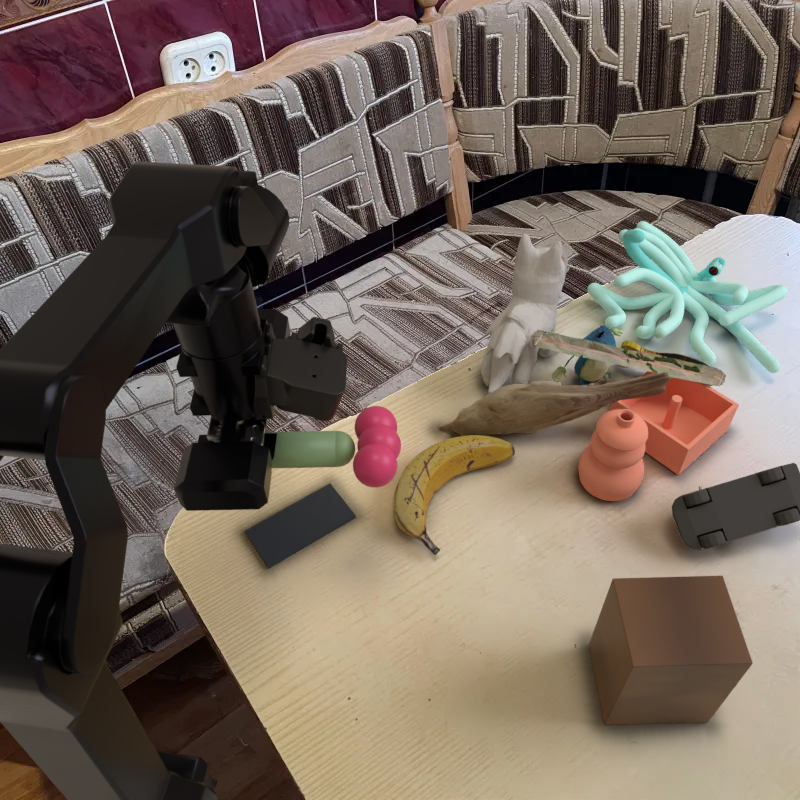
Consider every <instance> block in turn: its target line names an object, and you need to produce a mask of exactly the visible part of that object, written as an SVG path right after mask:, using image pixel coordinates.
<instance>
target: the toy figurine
mask: <svg viewBox="0 0 800 800" xmlns="http://www.w3.org/2000/svg"><path fill="white" fill-rule="evenodd" d="M623 334H624V332H623V331H622V330H621V329H618V328H613V329H609V328H608V327H606V325H604V324H600V325H599V327H597V328H596V329H594V330H593V331H591V332H590V333H588V334H587V335H586V336H585V337H583V338H582V339H586V340H590V341H594V342H598V343H603V344H607V345H611V346H615V347H617V343H616V339H615V336H616V337H622V335H623ZM574 357H575V356H573V355H571V357H570V358H569V359H567V361H566V363H565V364H564V366H558V367H557V368H556V369H555V370H554V371H553V373H552V375H551V381H554V382H559V380H560V378H561V377H562V376H563V377H567V369H566V367H567V366H568V364H569V363H570V361H572V360H573V358H574ZM609 368H610V363H607V362H602V361H598V360H593V359H588V358H583V357H582V356H581V357H578V358H577V360H576V362H575V363H574V367H573V369H574V373H575V374H576V376H577V377H578V378H579V382H578V383H579V384H580V386H581V385H589V384H591V383H595V382H598V381H599V380H603V379H606V378H610V377H611V375H612V373H609V372H608V370H609Z"/></svg>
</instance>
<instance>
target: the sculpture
mask: <svg viewBox="0 0 800 800" xmlns="http://www.w3.org/2000/svg"><path fill="white" fill-rule="evenodd" d="M670 380H671V377H670V376H669V375H668V373H667V372H663V373H659V374H652V375H648V376H644V377H640V376H639V377H634V378H629V379H624V380H619V381H614V380H613V379H611V378H610V377H609V378H606V379H603V380H599V381H595V382H592V383H591V384H589V385H581V384H580V385H577V384H562V382H561V381H557V382H555V381H554V380H533V381H529V382H530V383H528V384H513V383H512V384H507V385H503V386H502V387H500V388H498V389H496V390H495V391H493V392H492V393H490V394H487V395H485V396H484V397H481V398H479V399H478V400H475V402H474V403H472V404H470V405H469V406H467V407H465V408H462V409H461V410H459V412H458V414H457V416H456V418H455V419H453V420H452V421H451V422H448V423H443V424H440V425H438V429H444V430H445V429H446V430H451V431H453V432H455V433H456V434H458V435H459V436H468V435H483V436H487V435H510V434H516V433H523V434H532V433H536V432H538V431H540V430H544V429H546V428H549V427H554V426H557V425H560V424H564V423H567V422H571V421H574V420H577V419H579V418H581V417H584V416H587V415H590V414H592V413H594V412H596V411H598V410H600V409H602V408H604V407H607V406H610V405H611V404H612V403H614V402H617V401H619V400H626V399H634V398H642V397H649V396H655V395H660V394H662V393H664V392H665V391H666V388H665V385H666V384H667V383H668V382H669V381H670Z"/></svg>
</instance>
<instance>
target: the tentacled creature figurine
mask: <svg viewBox="0 0 800 800" xmlns="http://www.w3.org/2000/svg"><path fill="white" fill-rule="evenodd" d="M618 239H619V241H621V242H623V246H624V249H625V251H626V254H627V255H628V256H629V258H630V259H631V260H632V261H633V262H634V264H635V265H637V267H635V268H632V269H629V270H627V271H625V272H623V273H621V274H618V275H617V276H615V277H614V279H613V284H614V286H615V287H616V288H618V289H623V288H625V287H627V286H630V285H631V284H634V283H635V282H638V281H642V282H645V283H647V284H649V285H651V286H653V287H655V288H656V289H658V290H660V291H658V292H654V293H649V294H646V295H641V296H633V297H631V296H629V297H627V296H623V295H620V294H618V293H616V292H614V291H612V290H611V289H608V288H607V287H605V286H604V285H602V284H600V283H598V282H592V283H590V284H589V285H588V286H587V293H588V295H589V296H590V297H591V298H592V299H593V300H594V301H595V302H596V303H597V304H598V305H599V306H600V307H601V308H602V309H603V310H604V311H605V312H606V313H607V314H608V315H609V316H608V317H607V318H606V319H605V321H604V324H605V326H606V327H608V328H609V329H610V330H612V329H617V328H619V327H622V326H623V325H624V324H625V323H626V322H627V314H626V313H625V311H624V310H627V311H628V310H629V311H630V310H640V309H641V310H642V309H647V308H651V307H652V308H651V309H649V310H648V312H647V313H646V314H645V316H644V317H643V319H642V325H639V326H637V327H636V328H635V335H636V337H637V338H639V339H644V340H648V339H651V338H652V337H653V336H655V338H658V339H664V338H666V337H667V336H669V335H670V334H671V333H672V332H674V331H675V330H676V329H678V327H679V326H680V325H681V324H682V322H683V318H684V314H685V310H686V311H687V312H688V313H690V314H691V316H692V317H693V318H694V320H695V321H694V325H693V326H692V328H691V331H690V334H689V344H690V347H691V348H692V350H693V352H694V354H696V355H697V356H698V358H699V359H700V361H701V362H703V363H705V364H707V365H709V366H713V365H715V364H716V363H717V356H716V354H715V353H714V352H713V351H712V349H711V348H710V347H709V346H708V345H707V343H706V342H705V340H704V337H705V334H706V332H707V330H708V327H709V322H710V317H711V318H713V320H716V321H717V322H718V323H719V325H720V326H722V327H724V328H725V329H726V330H727V331H728V332H730V333H731V335H732V336H734V337H735V338H736V339H737V340H738V341H739V342H740V343H741V344H742V345H743V347H745V349H746V350H747V351H748V352H749V354H751V355H752V356H753V357H754V358H755V360H757V362H758V363H760V365H761V366H762V367H763V368H764V369H765V370H766V371H767V372H768V373H770V374H777V373H778V372H780V370H781V368H782V364H781V363H780V361H779V360H777V358H775V356H774V355H773V354H772V353H771V352H770V351H769V350H768V349H767V348H766V347H765V346H764V345H763V344H762V343H761V342H760V341H759V340H758V339H757V338H756V337H755V336H754V335H753V334H752V332H751V331H749V330H748V329H747V328H746V327H745V325H743V324H742V323H741V322H740V321H741V320H744V319H746V318H747V317H750V316H751V315H754V314H756V313H758V312H760V311H762V310H764V309H767V308H769V307H771V306H773V305H775V304H776V303H779V302H780V301H781V300H784V299H785V298H786V297H787V295H788V293H789V289H788V287H787V286H786V285H784V284H774V285H768V286H764V287H760V288H756V289H752V290H749V289H748V287H747V286H746V285H744V284H742V283H739V282H731V281H730V282H729V281H718V280H717V279H716V277H717V276H719V275H721V273H722V271H723V269H724V268H725V266H726V260H725V259H724V258H723V257H721V256H717V257H715V258H713V259H712V260H711V261H710V262H709V263H708V264H707V265H706V267H705V268H703V269H702V270H700V271H699V272H698V271H697V270H696V267H695V266H694V264H693V263H692V260H691V259H690V258H689V255H687V253H686V252H685V250H684V249H683V248H682V247H681V245H679V244H678V243H677V242H676V241H675V240H674V239H673V238H671V237H670V236H669V235H668V234H666V233H665V232H663V231H662V230H661V229H660V228H657V227H656V226H654V225H653V224H650V223H649V222H647V221H645V220H641V221H639V222H637V224H636V227H635V228H632V229H627V228H625V229H622V230H620V231H619V233H618ZM704 294H707V295H709V297H710V298H711V299H712V300H713V301H712V300H711V299H710V298H708V297H707V296H705V295H704ZM721 306H723V307H734V308H732V309H730V310H727V311H726V310H725V309H724V308H722V307H721ZM669 311H670V313H669V317H667V319H665V320H664V321H662V322H661V323H659V324H658V325H657V321H658V320H659V319H660V318H661V317H662V316H664V315H665V314H667V313H668V312H669ZM709 316H710V317H709Z"/></svg>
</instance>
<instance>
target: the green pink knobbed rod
mask: <svg viewBox="0 0 800 800" xmlns="http://www.w3.org/2000/svg"><path fill="white" fill-rule="evenodd" d="M397 432H398V422H397V419H396V417H395V415H394V413H392V412H391V410H389V409H388V408H386V407H384V406H381V405H372V406H368V407H366V408H364V409H363V410H362V411H360V412H359V414H358V415H357V417H356V419H355V421H354V434H355V436H356V438H357V443H356V444H357V447H356V444H355V441H354V439H353V438H352V436H351V435H349V434H348V433H346V432H345V431H342V430H307V431H306V430H305V431H303V430H302V431H266V432H265V433H277V440H276V447H275V455H274V459H273V461H272V469H307V468H308V469H309V468H310V469H311V468H340V467H344V466H346V465H348V464H350V462H351V461H352V470H353V474H354V476H355V478H356V479H357V480H358V482H359V483H361V484H362V485H364V486H365V487H369V488H373V489H375V488H376V489H377V488H381V487H384V486H387V485H388V484H390V482H392V481H393V479H394V478H395V476H396V474H397V471H398V458H399V457H400V454H401V449H402V441H401V438H400V435H399V434H398V433H397ZM356 448H357V452H356Z"/></svg>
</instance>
